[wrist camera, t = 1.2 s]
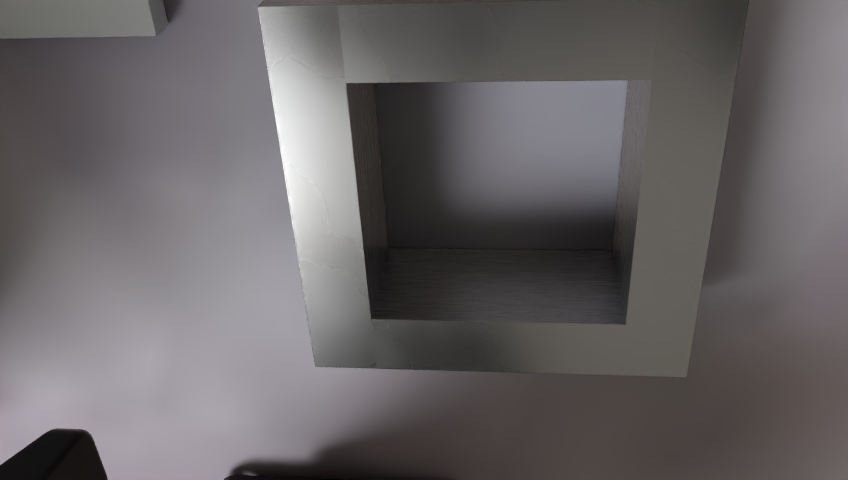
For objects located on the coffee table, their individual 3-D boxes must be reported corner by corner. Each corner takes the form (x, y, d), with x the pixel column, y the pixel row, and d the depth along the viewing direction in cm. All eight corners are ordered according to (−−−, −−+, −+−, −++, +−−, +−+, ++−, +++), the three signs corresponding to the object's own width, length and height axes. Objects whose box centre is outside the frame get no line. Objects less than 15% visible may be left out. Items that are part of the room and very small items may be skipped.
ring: (666, 299, 17) (686, 377, 15) (338, 293, 18) (315, 366, 16) (713, -46, 13) (749, -4, 11) (294, -35, 14) (257, 6, 12)
